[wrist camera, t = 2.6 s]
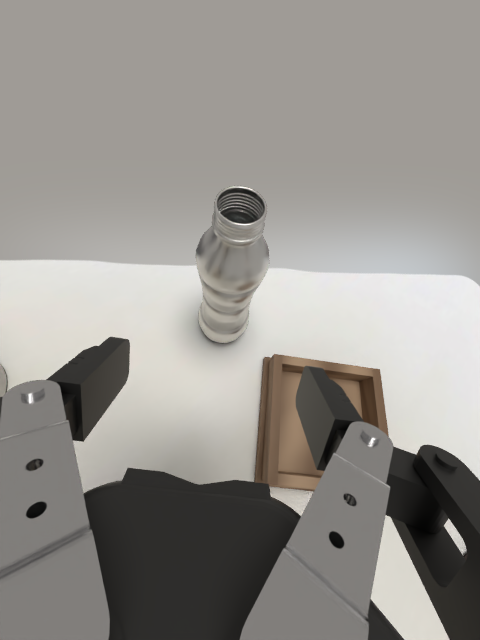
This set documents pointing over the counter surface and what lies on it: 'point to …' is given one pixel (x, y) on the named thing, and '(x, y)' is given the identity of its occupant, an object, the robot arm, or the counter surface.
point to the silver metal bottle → (231, 262)
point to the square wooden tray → (284, 423)
